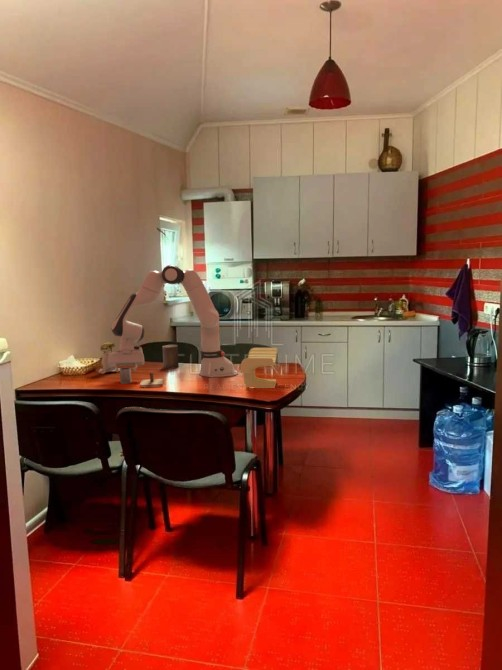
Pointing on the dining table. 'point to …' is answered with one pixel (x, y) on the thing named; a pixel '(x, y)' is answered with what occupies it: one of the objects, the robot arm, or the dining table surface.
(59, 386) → the dining table surface
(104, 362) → the beige sitting figure
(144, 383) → the post
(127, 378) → the grey rectangular block
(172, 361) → the pillar candle
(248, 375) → the wooden slatted rack
